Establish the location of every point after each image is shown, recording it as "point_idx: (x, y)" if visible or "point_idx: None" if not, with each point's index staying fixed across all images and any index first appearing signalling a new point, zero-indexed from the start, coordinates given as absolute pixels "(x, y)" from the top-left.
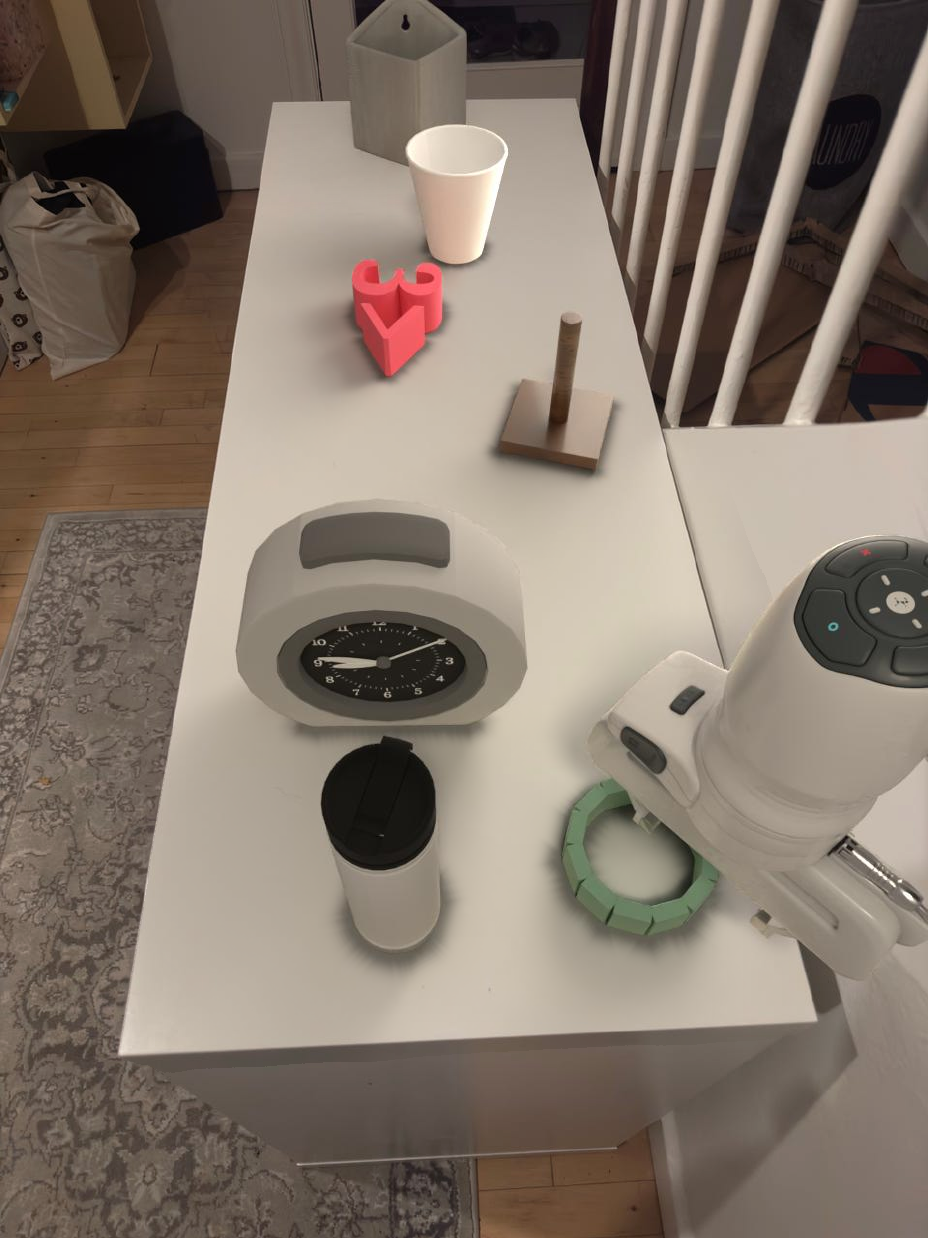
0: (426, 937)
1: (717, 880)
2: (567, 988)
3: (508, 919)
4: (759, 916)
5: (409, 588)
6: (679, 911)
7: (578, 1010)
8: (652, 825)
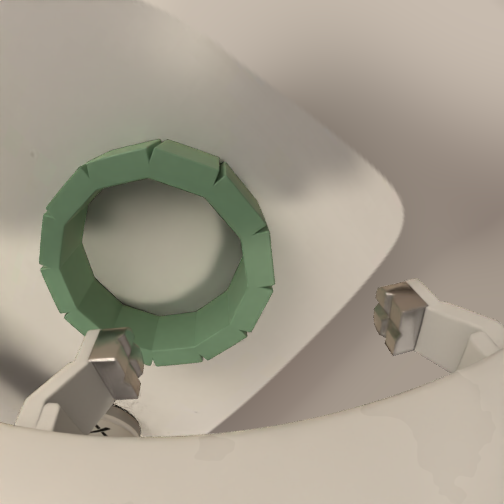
0: (136, 428)
1: (264, 223)
2: (234, 377)
3: (150, 380)
4: (399, 352)
5: None
6: (260, 300)
7: (256, 379)
8: (135, 397)
